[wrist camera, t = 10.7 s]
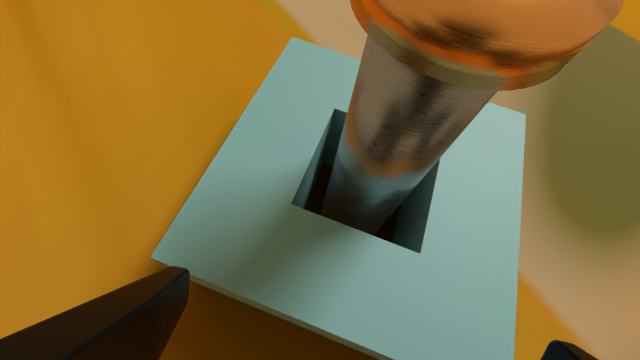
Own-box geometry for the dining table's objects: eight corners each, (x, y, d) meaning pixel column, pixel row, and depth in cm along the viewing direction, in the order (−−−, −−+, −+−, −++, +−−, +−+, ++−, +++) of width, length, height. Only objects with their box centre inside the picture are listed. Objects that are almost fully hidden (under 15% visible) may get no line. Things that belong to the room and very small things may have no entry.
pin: (377, 270, 15) (642, 78, 4) (297, 238, 16) (321, -24, 4) (397, 197, 17) (611, -74, 6) (325, 170, 18) (395, -133, 6)
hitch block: (437, 384, 13) (510, 407, 9) (192, 281, 14) (149, 257, 10) (470, 166, 19) (525, 114, 14) (291, 103, 20) (292, 36, 15)
